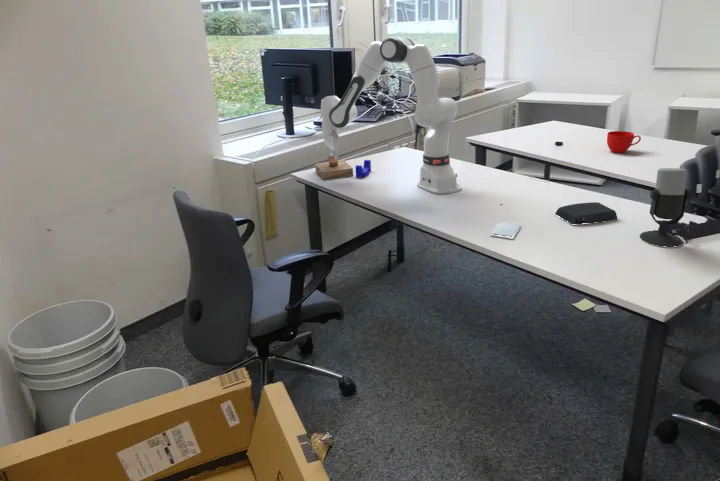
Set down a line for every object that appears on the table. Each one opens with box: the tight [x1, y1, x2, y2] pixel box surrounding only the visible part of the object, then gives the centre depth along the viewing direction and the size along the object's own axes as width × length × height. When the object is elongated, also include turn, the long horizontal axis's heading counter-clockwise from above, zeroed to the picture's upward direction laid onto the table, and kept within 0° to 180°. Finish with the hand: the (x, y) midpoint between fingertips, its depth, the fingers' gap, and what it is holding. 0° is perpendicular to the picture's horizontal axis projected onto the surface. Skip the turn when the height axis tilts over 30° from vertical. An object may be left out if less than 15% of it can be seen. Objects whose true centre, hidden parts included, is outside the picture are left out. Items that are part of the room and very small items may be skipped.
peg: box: [328, 154, 339, 167], centre depth 262 cm, size 5×5×8 cm
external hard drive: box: [554, 201, 618, 224], centre depth 195 cm, size 13×19×4 cm
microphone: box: [639, 167, 693, 247], centre depth 169 cm, size 13×13×25 cm
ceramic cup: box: [606, 130, 642, 154], centre depth 275 cm, size 13×17×10 cm
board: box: [314, 160, 354, 180], centre depth 264 cm, size 16×16×4 cm
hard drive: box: [490, 221, 522, 237], centre depth 186 cm, size 2×8×12 cm
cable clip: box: [355, 159, 372, 179], centre depth 260 cm, size 12×4×6 cm, turn 155°
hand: (332, 155), depth 261 cm, fingers closed
